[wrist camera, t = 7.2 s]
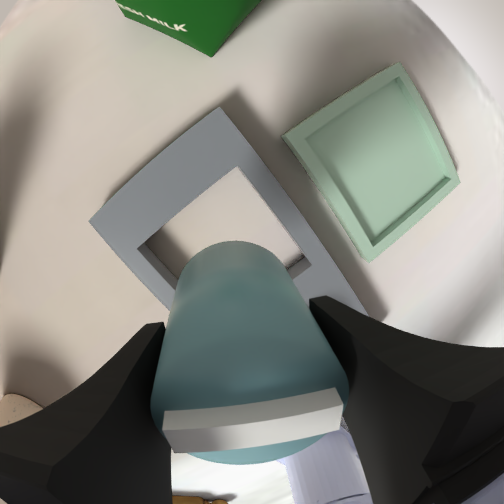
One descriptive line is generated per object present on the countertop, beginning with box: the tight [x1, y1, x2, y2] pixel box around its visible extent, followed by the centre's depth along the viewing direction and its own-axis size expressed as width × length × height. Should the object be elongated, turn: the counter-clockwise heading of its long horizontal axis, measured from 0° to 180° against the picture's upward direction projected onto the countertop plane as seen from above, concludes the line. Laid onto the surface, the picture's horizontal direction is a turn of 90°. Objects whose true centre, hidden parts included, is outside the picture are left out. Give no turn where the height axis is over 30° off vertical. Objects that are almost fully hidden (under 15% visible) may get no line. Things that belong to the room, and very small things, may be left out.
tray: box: [281, 62, 461, 263], centre depth 18 cm, size 10×10×1 cm
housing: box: [89, 106, 369, 317], centre depth 19 cm, size 20×10×2 cm, turn 37°
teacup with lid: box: [0, 394, 43, 427], centre depth 18 cm, size 12×9×12 cm
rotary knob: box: [150, 241, 349, 465], centre depth 9 cm, size 5×5×7 cm
